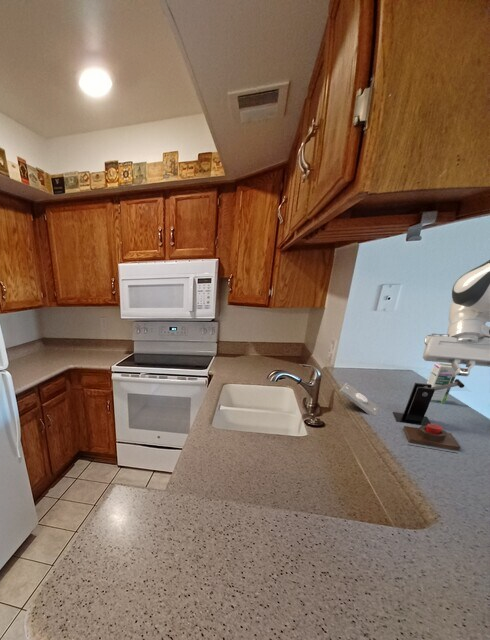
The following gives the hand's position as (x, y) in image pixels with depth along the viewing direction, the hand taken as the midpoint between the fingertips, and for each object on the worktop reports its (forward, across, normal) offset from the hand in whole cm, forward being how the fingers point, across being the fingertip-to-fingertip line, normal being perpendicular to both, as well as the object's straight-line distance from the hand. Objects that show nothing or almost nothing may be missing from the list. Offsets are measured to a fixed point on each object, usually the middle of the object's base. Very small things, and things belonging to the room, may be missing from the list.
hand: (462, 375), depth 100 cm
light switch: (+10, -24, +14) cm, 30 cm away
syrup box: (-4, +3, +29) cm, 29 cm away
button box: (+23, -6, +2) cm, 24 cm away
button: (+20, -6, -1) cm, 21 cm away
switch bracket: (+13, -8, +12) cm, 19 cm away
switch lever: (+5, -4, +3) cm, 7 cm away
